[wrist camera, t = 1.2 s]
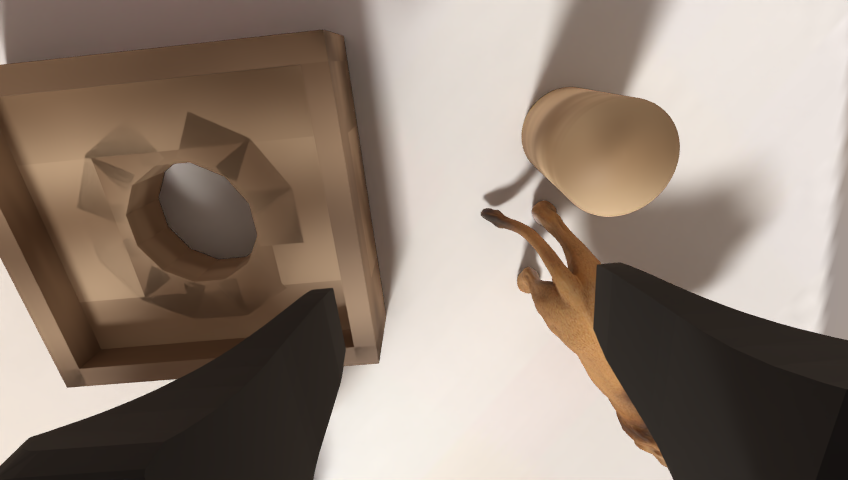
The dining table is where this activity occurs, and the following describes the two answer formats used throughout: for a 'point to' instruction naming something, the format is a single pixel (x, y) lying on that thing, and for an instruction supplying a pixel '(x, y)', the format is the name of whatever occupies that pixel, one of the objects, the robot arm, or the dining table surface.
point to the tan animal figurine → (573, 308)
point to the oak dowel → (602, 148)
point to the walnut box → (142, 214)
